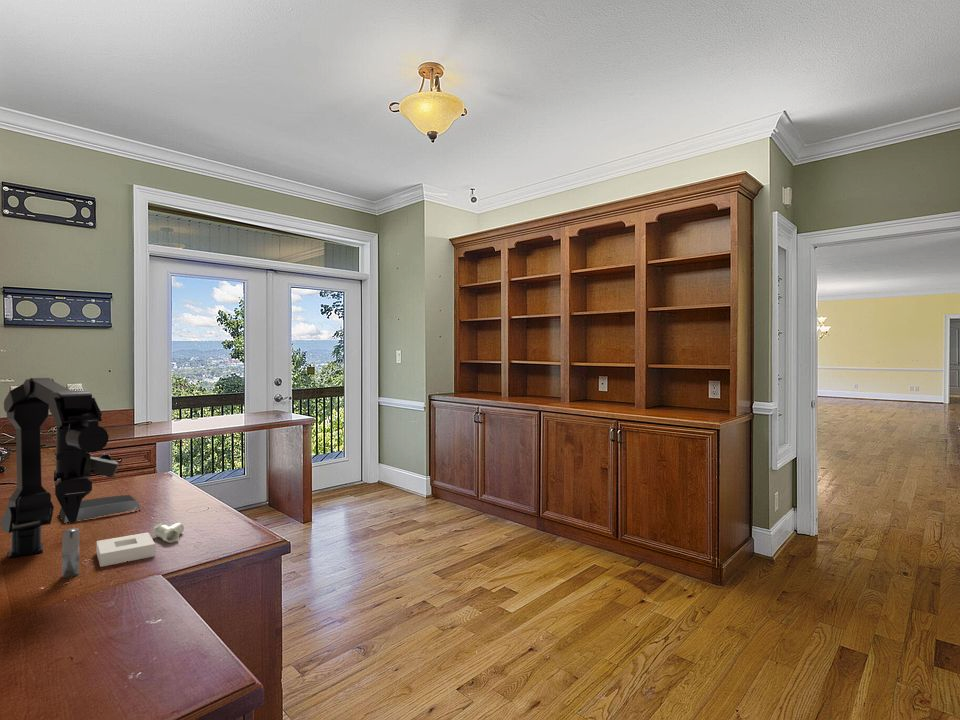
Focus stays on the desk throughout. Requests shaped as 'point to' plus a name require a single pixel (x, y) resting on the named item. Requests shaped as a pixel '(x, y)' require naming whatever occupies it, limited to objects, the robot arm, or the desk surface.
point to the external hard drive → (103, 507)
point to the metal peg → (70, 553)
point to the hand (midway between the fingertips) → (71, 517)
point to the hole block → (125, 549)
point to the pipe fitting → (168, 531)
